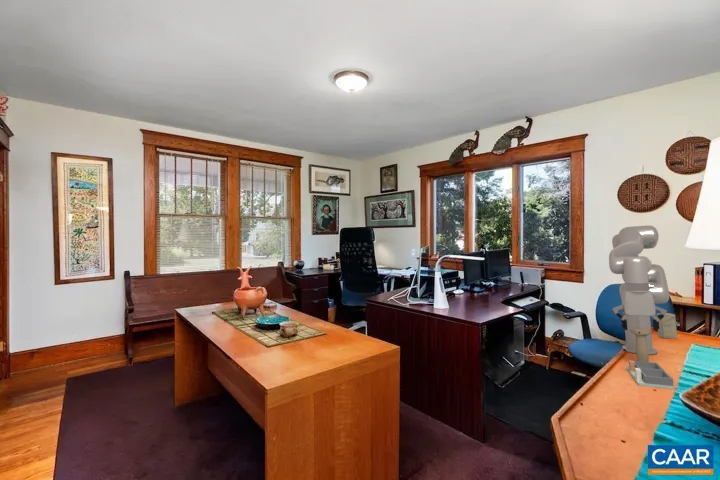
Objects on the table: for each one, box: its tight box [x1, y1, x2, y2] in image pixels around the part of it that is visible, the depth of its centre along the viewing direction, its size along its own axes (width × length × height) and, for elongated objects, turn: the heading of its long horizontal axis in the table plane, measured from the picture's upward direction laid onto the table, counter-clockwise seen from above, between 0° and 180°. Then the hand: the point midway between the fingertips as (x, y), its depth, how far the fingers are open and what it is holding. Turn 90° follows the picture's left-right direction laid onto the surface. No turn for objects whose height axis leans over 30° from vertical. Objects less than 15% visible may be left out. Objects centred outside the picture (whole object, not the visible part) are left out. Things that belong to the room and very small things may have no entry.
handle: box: [630, 328, 652, 362], centre depth 139 cm, size 5×6×15 cm
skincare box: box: [656, 312, 678, 339], centre depth 177 cm, size 6×4×12 cm
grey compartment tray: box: [626, 359, 675, 390], centre depth 127 cm, size 18×10×4 cm, turn 153°
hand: (640, 330), depth 139 cm, fingers open, 9 cm apart
